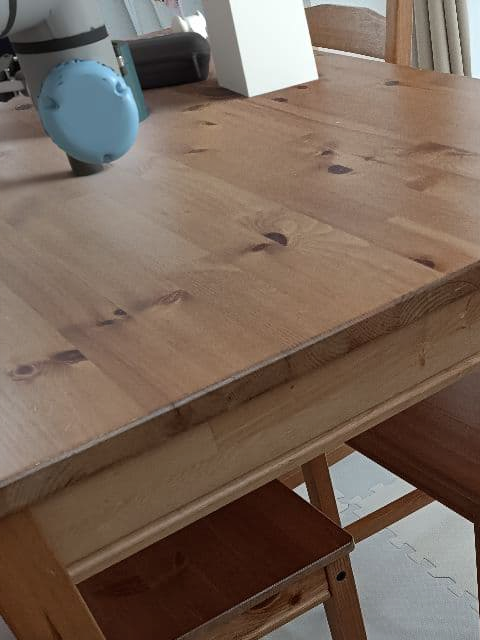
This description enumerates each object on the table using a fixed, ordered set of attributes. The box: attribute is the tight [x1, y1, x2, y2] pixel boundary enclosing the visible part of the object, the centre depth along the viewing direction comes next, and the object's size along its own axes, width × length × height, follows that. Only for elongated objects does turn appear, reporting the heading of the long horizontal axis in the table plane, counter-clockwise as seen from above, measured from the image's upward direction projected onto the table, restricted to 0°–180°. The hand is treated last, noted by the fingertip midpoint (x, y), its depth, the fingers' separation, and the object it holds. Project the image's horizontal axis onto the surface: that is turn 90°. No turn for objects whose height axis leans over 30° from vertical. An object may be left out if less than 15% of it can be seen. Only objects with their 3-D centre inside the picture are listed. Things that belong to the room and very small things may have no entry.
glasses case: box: [124, 32, 212, 90], centre depth 124 cm, size 18×10×8 cm, turn 96°
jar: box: [110, 39, 149, 123], centre depth 109 cm, size 10×10×9 cm
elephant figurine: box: [170, 9, 209, 40], centre depth 144 cm, size 7×8×6 cm
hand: (42, 50), depth 89 cm, fingers closed on brush, 2 cm apart
